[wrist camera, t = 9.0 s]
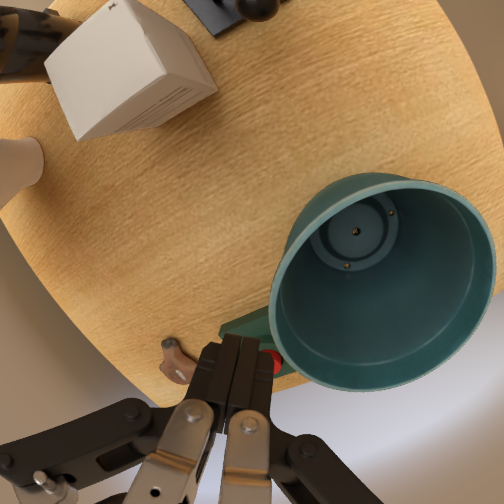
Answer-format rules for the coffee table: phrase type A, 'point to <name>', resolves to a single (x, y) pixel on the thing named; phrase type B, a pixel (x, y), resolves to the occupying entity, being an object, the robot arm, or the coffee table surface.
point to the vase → (19, 166)
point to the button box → (257, 334)
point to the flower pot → (380, 282)
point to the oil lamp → (176, 363)
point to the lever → (257, 9)
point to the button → (275, 360)
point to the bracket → (217, 14)
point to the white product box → (126, 72)
